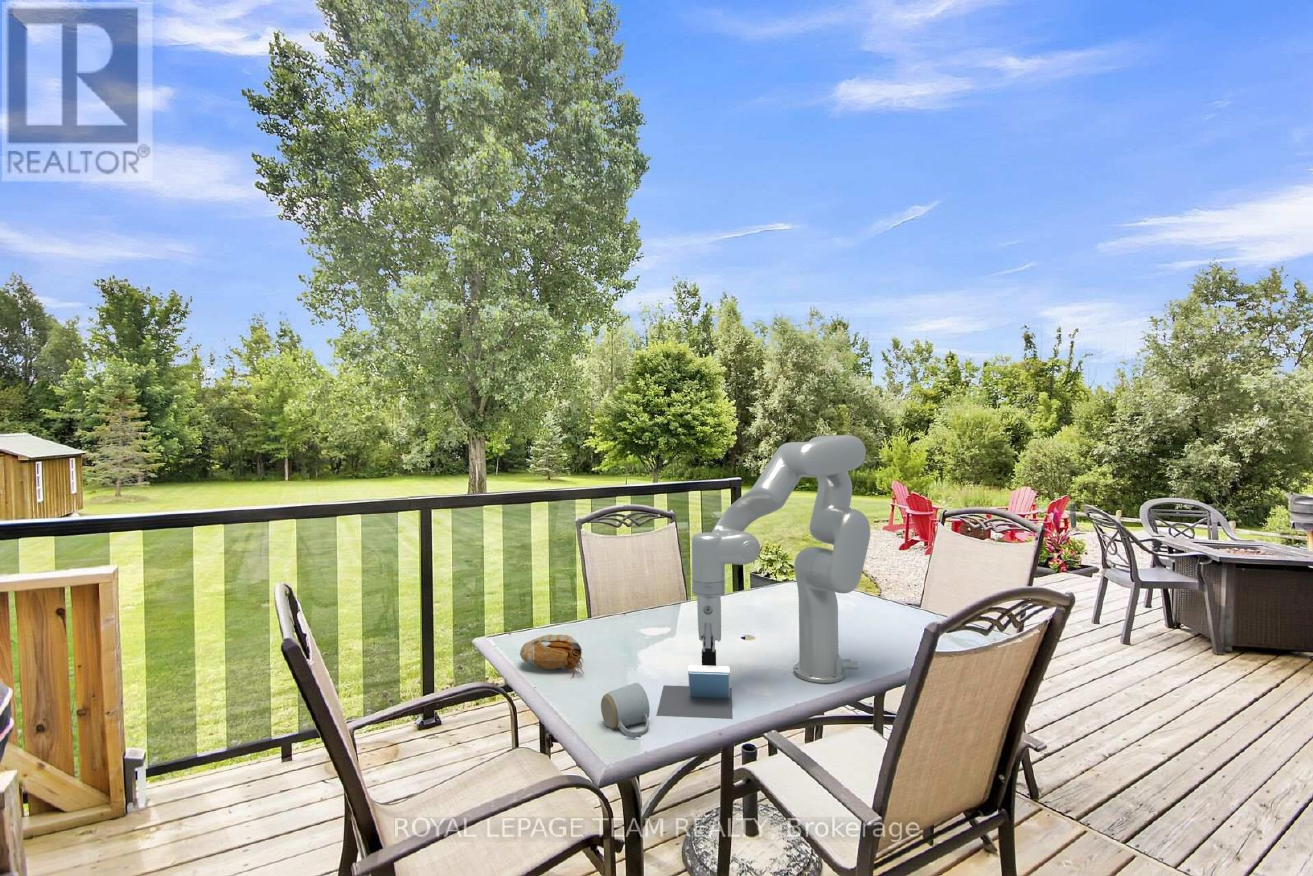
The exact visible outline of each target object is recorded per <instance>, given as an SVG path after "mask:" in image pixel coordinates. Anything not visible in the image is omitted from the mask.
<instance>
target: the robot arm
mask: <svg viewBox="0 0 1313 876" xmlns="http://www.w3.org/2000/svg"><path fill="white" fill-rule="evenodd" d="M866 452H867V449H866V446H865V444H864V442H863V441H862V440H861V439H860V438H859V437H857V436H854V435H851V434H841V435H839V434H838V435H836V434H835V435H833V434H832V435H830V434H829V435H818V436H815V437H812V438H811V439H810V440H809V441H791V442H786V443H783V444H781V445H780V446H779V447H778V448H777V449H776V451H775V452H774V454H773V456H772V457H771V458H770V460H769V462H768V463H767V464H766V467H765V468H764V469H763V471H762V472H761V474H760V475H759V476H758V478H757V480H756V482H755V483H754V484H753V486H752V488H751V489H749V490H748V491H747V492H745V493H744V494H743V495H742V496H741V497H739V498H738V499H737V500H735V501H734V502H733V503H732V504H731V505H730V506H729V507H728V508H727V509H725V510H724V512H723V514H722V515H721V516H720V518H719V519H718V521H717V522H716V523H715V525H714V527H713V529H712V531H711V532H698V533H696V534H694V535H693V537H692V539H691V586H692V587H691V594H692V595H693V596H695V597H697V599H696V601H697V602H696V603H697V605H696V606H697V628H698V630H697V631H698V639H699V641H700V642H702V648H701V665H706V666H717V649H716V641H717V642H718V643H719V642H721V640H722V601H721V600H722V599H721V597H723V596H726V573H725V572H726V571H725V570H726V569H725V568H726V565H739V566H740V565H742V566H743V565H749V564H751V563H753V562H755V561H756V560H757V559H758V558H759V556H760V552H761V545H760V542H759V540H758V538H756V536H754V535H753V534H751V533H749V532H745V530H746V529H747V528H748V526H750V525H751V524H752V523H753V522H755V521H756V520H758V519H760V518H762V517H764V516H767V515H770V514H772V513H775V512H777V511H779V510H781V509H782V508H783V507H784V505H785V504H786V502H787V500H788V499H789V498H790V496H791V494H792V493H793V491H794V489H795V487H796V486H797V485H798V483H799V481H800V480H801V478H817V483H818V484H817V492H816V496H815V501H814V505H813V509H812V514H811V518H810V523H809V533H810V535H811V537H812V538H813V539H814V540H816V541H817V542H820V543H824V544H827V545H833V549H828V548H824V547H820V546H809V547H808V546H807V547H805V548H803V549H802V550H800V551H799V552H798V553H797V555H796V557H795V559H794V564H793V565H794V575H795V581H796V584H797V585H796V586H797V592H798V641H799V642H798V647H799V648H798V649H799V651H798V653H799V655H798V656H799V658H798V659H799V660H798V661H799V662H797V663H795V664H793V667H792V669H793V670H792V671H793V674H794V675H795V676H796V677H798V678H800V679H802V680H805V681H806V682H807V681H808V682H811V683H818V684H830V683H831V684H832V683H838V682H840V681H843V680H844V679H845V678H846V670H858V671H859V670H860V669H859V668H860V667H859V665H860V664H859V661H858V660H852V659H851V658H842V657H840V655H839V654H840V653H839V605H838V598H837V595H836V593H837V594H844V595H845V594H849V593H851V592H853V591H854V590H855V589H856V588H857V586H858V585H859V583H860V580H861V578H862V576H863V570H864V567H865V562H866V557H867V554H868V548H869V546H870V545H869V544H870V541H871V539H870V538H871V526H870V525H871V524H870V521H869V519H868V517H867V516H866V515H865V514H864V513H863V512H862V511H860V510H857V509H855V508H851V502H852V495H853V482H852V480H851V477H850V475H849V472H851V471H853V470H856V469H857V468H859V467H860V466H861V465H862V464H863V463H864V460H866V459H865V458H866V455H867V453H866Z"/></svg>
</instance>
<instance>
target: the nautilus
mask: <svg viewBox="0 0 1313 876" xmlns="http://www.w3.org/2000/svg"><path fill="white" fill-rule="evenodd" d="M582 651H583V649H582V647H581V645H580V644H579V643H578V641H576V639H574V638H573V637H572V636H570V635H568V634H546V635H542V636H539V637H536V638H534V639H532V640H530V641H528V642H525V643H524V644H523V645H522V647H521V649H520V651H519V656H520V657H521V659H522V660H523V661H524V662H526V663H528V664H533V666H535V667H537V668H538V669H540V668H541V670H555V669H557V668H560V669H563V670H564V669H565V670H569V671H572V672H573V674H572V676H571V678H574V675H575V673H578V674H580V675H582V676H584V675H585V673H584V671H583V669H582V667H583V665H582V662H584V659H583V657H582V653H583V652H582ZM581 660H582V661H581ZM579 664H580V665H579ZM576 669H577V670H576ZM579 670H580V671H581V672H580V671H579Z"/></svg>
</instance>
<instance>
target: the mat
mask: <svg viewBox="0 0 1313 876" xmlns="http://www.w3.org/2000/svg"><path fill="white" fill-rule="evenodd" d="M661 690H662V691H661V695H660V698H659V704H658V707H657V711H656V717H675V718H677V717H679V718H681V717H682V718H703V719H704V718H705V719H723V720H724V719H727V720H728V719H729V720H733V717H734V716H733V697H732V696H733V695H732V687H730V697H729V698H703V697H690V692H689V685H668V684H667V685H663V687H662V689H661Z"/></svg>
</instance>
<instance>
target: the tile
mask: <svg viewBox="0 0 1313 876" xmlns="http://www.w3.org/2000/svg"><path fill="white" fill-rule="evenodd" d="M687 672H688V673H687V674H688V686H689V692H690V697H703V698H729V697H730V688H731V687H730V686H731V685H730V683H731V681H730V679H731V677H730V666H729V665H716V666H706V665H702V664H700V665H699V664H688V669H687Z"/></svg>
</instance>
